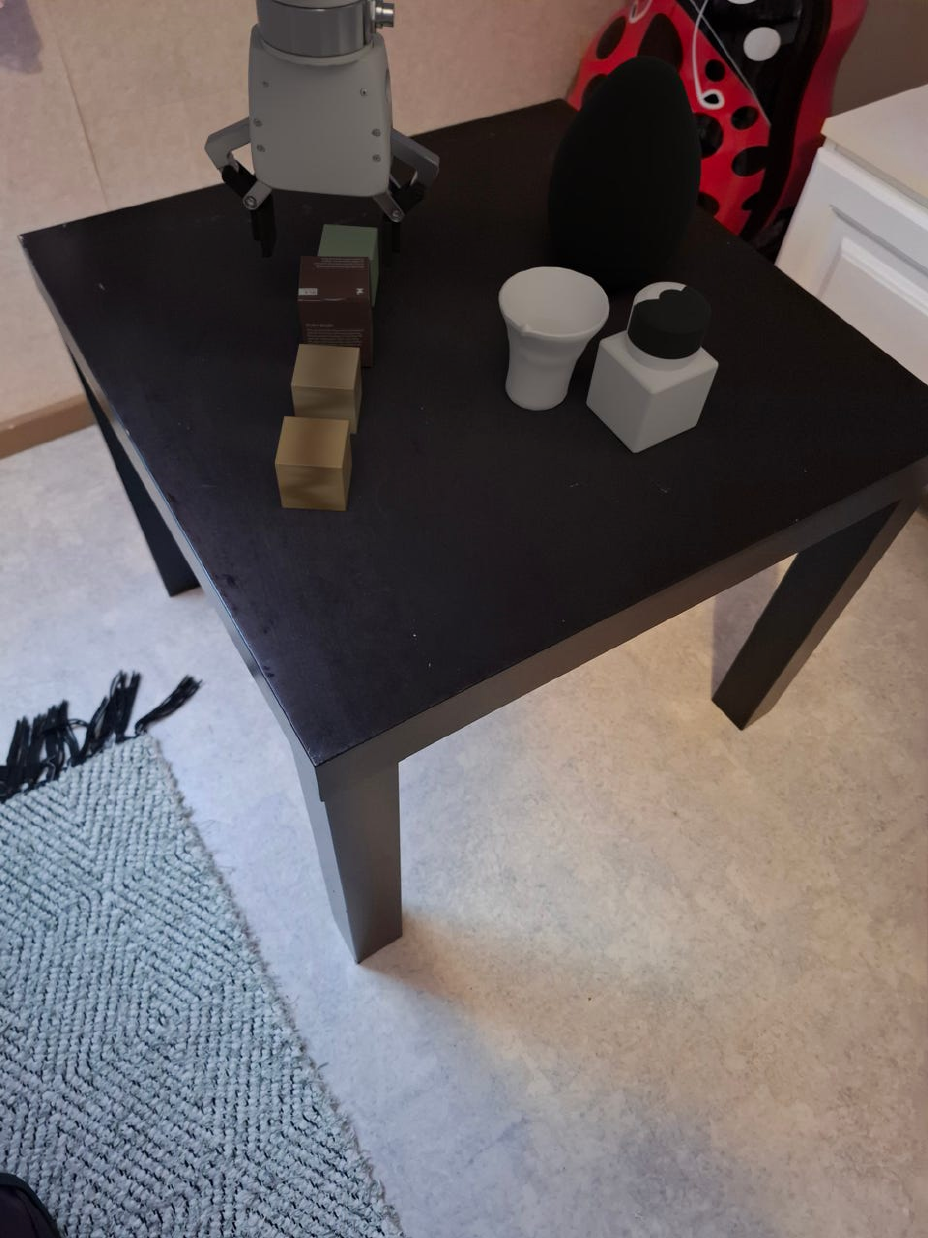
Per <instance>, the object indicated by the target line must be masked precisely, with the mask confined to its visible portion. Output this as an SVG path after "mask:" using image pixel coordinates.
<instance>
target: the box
mask: <svg viewBox="0 0 928 1238" xmlns="http://www.w3.org/2000/svg"><path fill="white" fill-rule="evenodd" d="M297 306H298V315H299V321H300V329H301V337H302V344H308V345H323V346H338V347H353V348H360V364H361V368H362V367H363V368H364V367H367V368H373V365H374V317H373V316H374V315H373V313H374V312H373V306H372V293H371V273H370V259H369V257H334V256H318V255H301V257H300V266H299V280H298V291H297Z"/></svg>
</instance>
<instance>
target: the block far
mask: <svg viewBox="0 0 928 1238" xmlns="http://www.w3.org/2000/svg"><path fill="white" fill-rule="evenodd" d="M321 232H322V233H321V236H320V242H319V247H318V252H317V256H334V257H369V259H370V273H371V293H372V308H374V307H375V303H376V296H377V290H378V289H377V288H378V281H379V244H378V243H379V238H378V235H379V234H378V233H379V232H378V228H377V227H369V226H353V225H343V224H342V225H340V224H327V223H324V224H323V228H322V231H321Z"/></svg>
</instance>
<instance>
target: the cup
mask: <svg viewBox="0 0 928 1238" xmlns="http://www.w3.org/2000/svg"><path fill="white" fill-rule="evenodd" d="M497 300H498V305H499V310H500V313H501V315H502V318H503V320H504V322H505V325H506V329H507V338H508V342H509V343H508V344H509V360H508V361H509V362H508V369H507V375H506V379H505V384H504V387H505V392H506V394H507V396H508V397H509V399H510V400H511V401H512V402H513V403H514V404H515V405H517V406H518V407H520V408H522V409H525V410H529V411H533V412H535V411H537V412H538V411H547V410H551V409H553V408H555V407H556V406H558V405H559V404H561V403H562V402H563V401H564V400H565V398H566V397H567V395H568V389H569V385H570V381H571V378H572V375H573V372H574V369H575V367H576V364H577V361H578V359H579V358H580V356H581V355H582V353H583V352H584V350H585V349H586V347H587V345H588V343H589V342H590V341H591V340H592V338H593V337H594V336H596V335H597V333H598V332H600V330H602V328H603V327H604V326H605V324H606V322H607V321H608V318H609V312H610V303H609V298H608V295H607V294H606V292H605V290H604V289H603V288H602V287H601V286H600V285H599V284H598V283H597V282H596V281H595V280H593V279H592V278H591V277H588V276H586V275H583V274H581V273H578V272H576V271H573V270H570V269H567V268H566V267H559V266H537V267H532V268H529V269H526V270H522V271H519V272H517V273H515V274H514V275H512V276H511V277H509V278H508V279H506V281H505V282H504V283H503V284H502V286H501V288H500V290H499V292H498V298H497Z"/></svg>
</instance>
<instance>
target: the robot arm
mask: <svg viewBox="0 0 928 1238" xmlns="http://www.w3.org/2000/svg"><path fill="white" fill-rule="evenodd" d="M255 9H256V17H257V23H256V24H254V25H253V26H252V28H251V30H250V36H249V37H250V38H249V48H248V72H247V90H248V91H247V93H248V116H246V117H245V118H242V119H240V120H238V121H236V122H233V123H231V124H230V125H227V126H226V127H223V128H222V129H219V130H217V131H215V132H212V133H211V134H209V135H208V136H207V138H206V141H205V143H204V146H203V147H204V148H203V149H204V151H205V154H206V155H207V156H208V158H209V159H210V161H211V163H212V164H213V166H214V167H215V168H216V170H217V171H218V172H219V173H220V176H221V180H222V181H223V183H224V184H225V185H226V186H227V187H229V188H230V189H231V190H232V191H233V192H234V193H235V194H236V195H238V196H239V197H240V198H241V199H242V203H243V205H244V207H245V208H246V209H248V210H249V215H250V223H251V230H252V236H253V241H255V242H260V250H261V256H262V258H267V259H268V258H270V257H273V254H274V249H275V247H276V242H277V237H278V234H277V224H276V214H275V207H274V198H273V197H274V196H273V194H272V193H271V192H272V191H273V190H274V189H275V190H280V191H281V190H282V191H290V192H299V193H300V192H301V193H310V194H321V195H322V194H323V195H332V196H335V195H336V196H345V197H358V198H372V199H373V200H374V202H375V203H376V204H377V205H378V206H379V208H380V209H381V210H382V211H383V213H382V220H381V266H383V267H384V268H386V269H391V268H392V262H393V254H394V253H397V254H400V253H401V252H402V251H401V250H402V237H403V236H402V231H403V230H402V229H403V228H402V226H403V220H404V218H405V215H406V214H407V213H409V212H410V211H411V210H412V209H414V207H415V206H417V205H418V204H419V203H420V202H422V201H423V200H424V198H425V195H426V193H427V191H428V190H429V189H430V187H431V186H432V184H433V182H434V181H435V179H436V178H437V175H438V174H439V172H440V167H441V166H440V165H441V163H440V162H441V158H440V157H439V155H437V154H436V153H434V152H432V151H431V150H429V149H428V148H426V147H425V146H423V145H422V144H420V143H418V142H416V141H415V140H414V139H411V138H410V137H409V136H407V135H405V134H404V133H402V132H400V131H399V130H397V129H395V128H394V118H393V116H394V115H393V99H392V98H393V95H392V82H391V73H390V65H389V58H388V53H387V46H386V42H385V38H384V36H383V35H382V34H381V33H380V32H379V31H377V30H383V29H384V28H391V29H392V28H393V29H394V28H395V18H396V17H395V15H396V11H395V9H396V5H395V3H394V2H393V3H392V2H384V0H255ZM248 144H250V153H251V161H252V167H253V174H252V172H250V171H249V170H248V169H247V168H246V167H245V166H244V165H243V164H242V163H241V162H240V161H239V160H238V159H235V157H234V153H232V152H234V151H235V150H238V149H240V148H243V147H245V146H246V145H248ZM394 158H396V159H398V160H399V161H401V162H403V163H404V164H406V165H408V166H409V167H411V168H412V169H414V170H415V173H414V175H413V176H412V177H411V178H409V179H408V180H407V181H406V182H405V183H403V185H402V186H401V185H400V184H399V182H398V181H397V180H396V179H395V178H394V176H393V175H392V174H391V169H392V167H393V163H394Z"/></svg>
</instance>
